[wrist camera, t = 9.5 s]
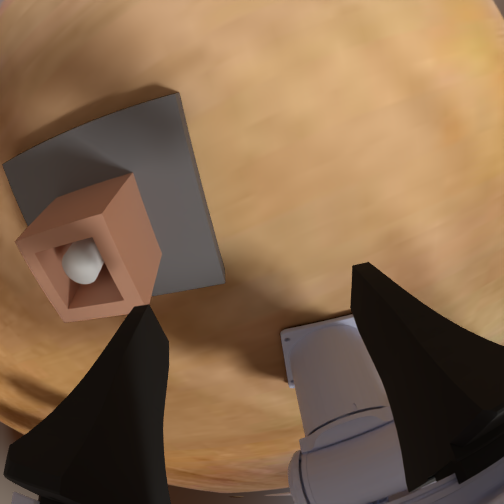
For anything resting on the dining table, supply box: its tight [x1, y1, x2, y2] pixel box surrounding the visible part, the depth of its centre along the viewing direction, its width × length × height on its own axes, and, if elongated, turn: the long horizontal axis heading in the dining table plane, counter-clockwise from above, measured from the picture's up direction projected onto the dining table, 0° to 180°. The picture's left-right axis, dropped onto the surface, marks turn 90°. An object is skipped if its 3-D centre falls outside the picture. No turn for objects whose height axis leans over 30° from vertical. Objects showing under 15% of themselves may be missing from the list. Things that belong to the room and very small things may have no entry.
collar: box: [15, 173, 162, 323], centre depth 15 cm, size 5×5×5 cm
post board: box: [2, 92, 225, 296], centre depth 15 cm, size 12×12×6 cm
